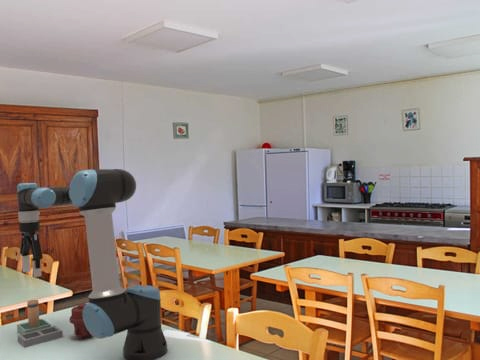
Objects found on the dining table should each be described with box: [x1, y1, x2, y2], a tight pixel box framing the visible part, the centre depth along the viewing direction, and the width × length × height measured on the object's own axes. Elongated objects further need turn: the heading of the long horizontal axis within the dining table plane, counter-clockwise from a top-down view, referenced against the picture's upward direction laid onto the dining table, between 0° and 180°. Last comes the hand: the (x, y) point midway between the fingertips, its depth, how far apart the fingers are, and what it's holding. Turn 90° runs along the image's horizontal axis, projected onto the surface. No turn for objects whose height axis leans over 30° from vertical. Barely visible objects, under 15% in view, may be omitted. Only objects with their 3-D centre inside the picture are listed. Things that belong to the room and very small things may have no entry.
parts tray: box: [16, 318, 52, 335], centre depth 182 cm, size 10×10×3 cm
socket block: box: [17, 325, 64, 348], centre depth 174 cm, size 8×14×2 cm, turn 132°
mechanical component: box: [68, 303, 93, 341], centre depth 175 cm, size 12×10×10 cm
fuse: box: [26, 299, 40, 329], centre depth 182 cm, size 4×4×12 cm
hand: (31, 274), depth 181 cm, fingers open, 13 cm apart
